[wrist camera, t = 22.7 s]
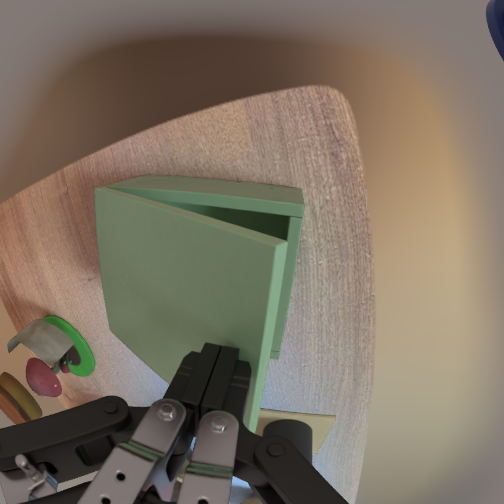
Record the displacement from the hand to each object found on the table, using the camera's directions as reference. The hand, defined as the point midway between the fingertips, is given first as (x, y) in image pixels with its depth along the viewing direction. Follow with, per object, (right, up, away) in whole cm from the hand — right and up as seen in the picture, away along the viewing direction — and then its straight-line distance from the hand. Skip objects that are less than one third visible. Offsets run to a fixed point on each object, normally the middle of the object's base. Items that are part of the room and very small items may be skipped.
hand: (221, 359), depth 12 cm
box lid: (-4, +2, +4) cm, 6 cm away
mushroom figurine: (-25, -9, +22) cm, 35 cm away
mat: (+7, -20, +22) cm, 30 cm away
